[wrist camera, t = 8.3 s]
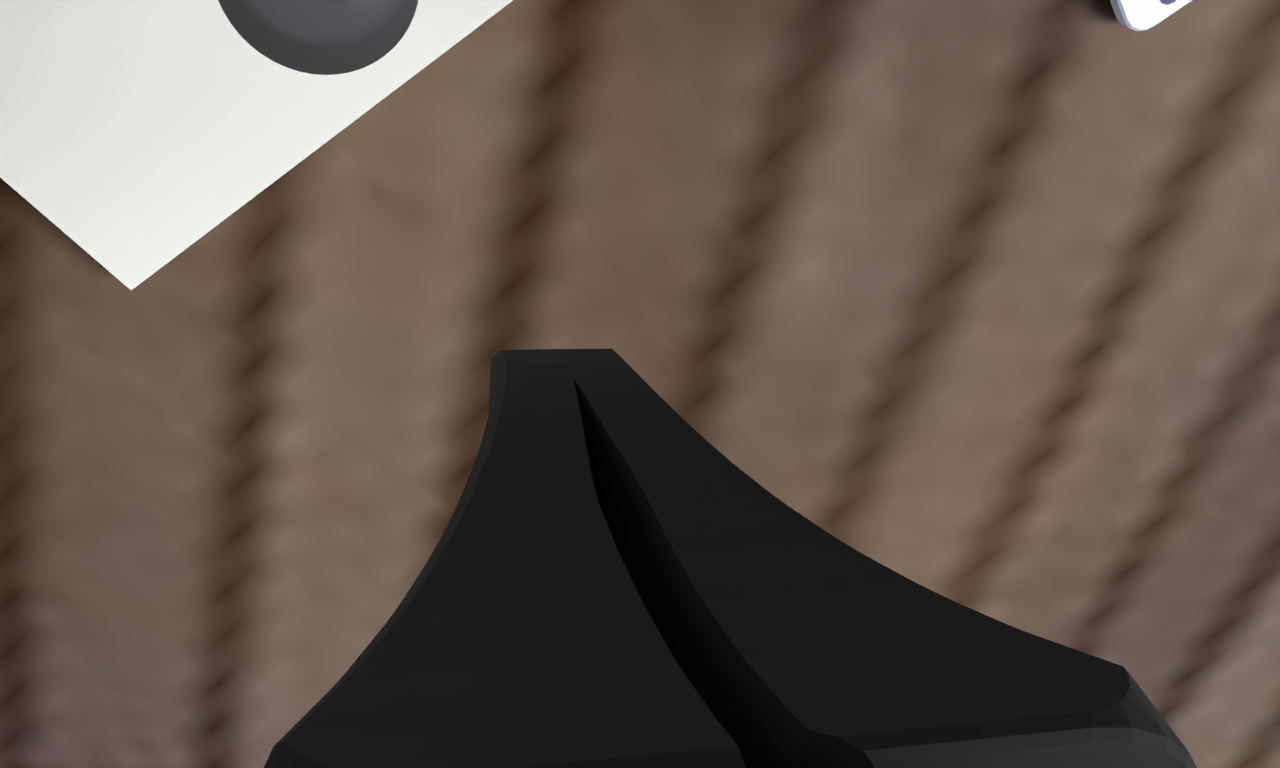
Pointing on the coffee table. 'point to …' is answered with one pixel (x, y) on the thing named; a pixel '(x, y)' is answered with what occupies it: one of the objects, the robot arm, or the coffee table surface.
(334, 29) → the hinge fixed
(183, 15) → the board
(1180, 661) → the coffee table surface
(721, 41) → the coffee table surface
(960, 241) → the coffee table surface
